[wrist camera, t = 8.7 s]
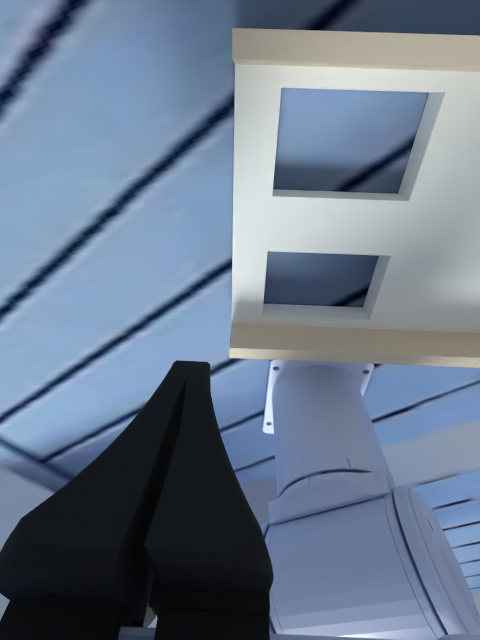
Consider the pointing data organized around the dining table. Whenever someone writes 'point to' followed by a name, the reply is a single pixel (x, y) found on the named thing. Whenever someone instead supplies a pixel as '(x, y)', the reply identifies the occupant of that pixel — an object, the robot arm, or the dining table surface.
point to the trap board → (362, 203)
